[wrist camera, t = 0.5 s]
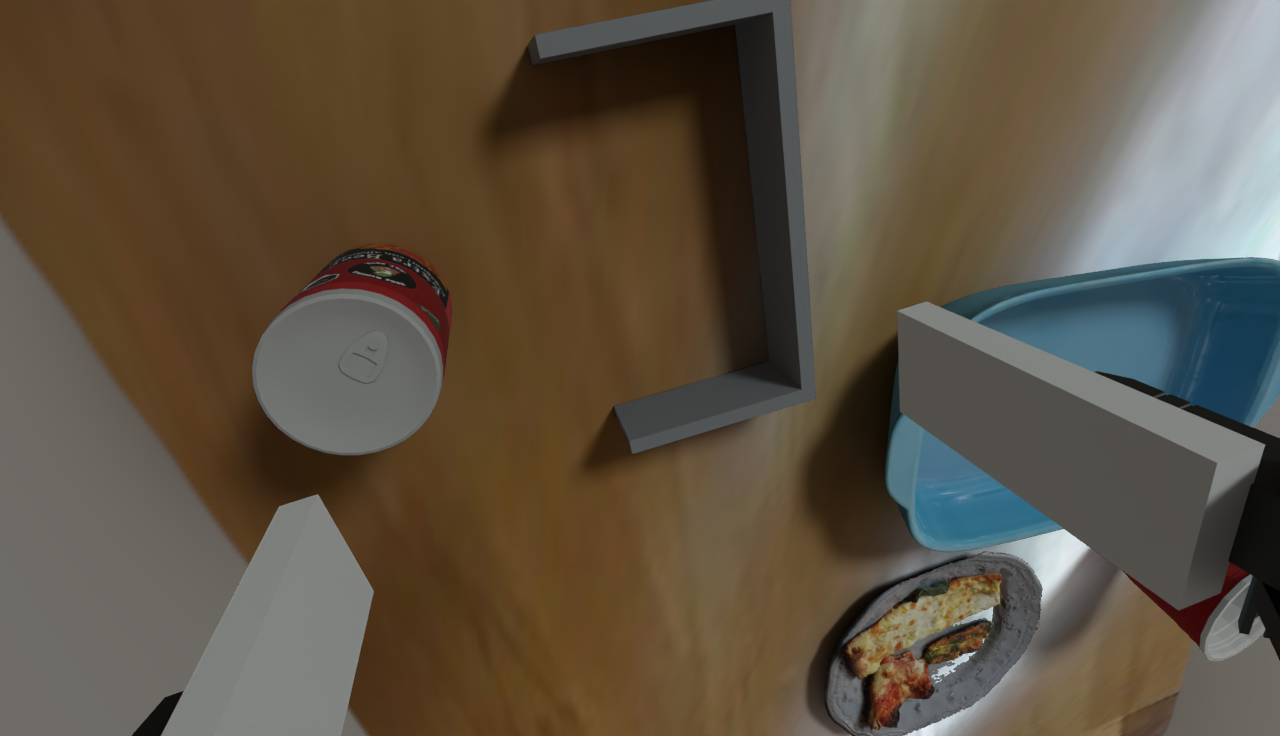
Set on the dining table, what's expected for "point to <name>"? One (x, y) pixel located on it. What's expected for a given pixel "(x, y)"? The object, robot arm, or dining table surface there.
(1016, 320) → the casserole dish
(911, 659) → the food plate
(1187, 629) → the plastic cup
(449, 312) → the canned food
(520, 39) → the dining table surface
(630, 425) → the box
